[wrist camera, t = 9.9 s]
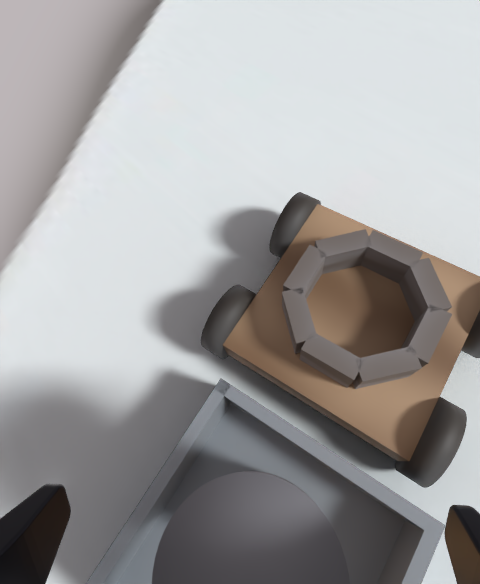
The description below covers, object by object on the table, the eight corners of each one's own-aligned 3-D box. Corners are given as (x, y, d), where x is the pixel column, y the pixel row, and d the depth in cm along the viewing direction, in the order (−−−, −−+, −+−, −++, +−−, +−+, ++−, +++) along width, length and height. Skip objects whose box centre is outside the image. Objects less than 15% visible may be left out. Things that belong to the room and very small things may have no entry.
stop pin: (284, 595, 17) (284, 779, 7) (205, 531, 19) (112, 613, 9) (331, 502, 19) (386, 549, 9) (253, 448, 20) (221, 435, 10)
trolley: (410, 484, 19) (450, 492, 15) (208, 355, 23) (189, 329, 18) (491, 306, 22) (544, 267, 18) (302, 218, 26) (305, 166, 21)
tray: (303, 772, 16) (308, 853, 12) (105, 583, 19) (69, 609, 16) (417, 514, 19) (445, 525, 15) (229, 390, 22) (220, 378, 19)
